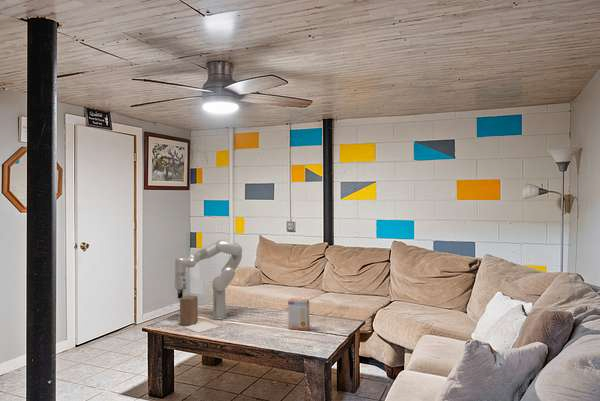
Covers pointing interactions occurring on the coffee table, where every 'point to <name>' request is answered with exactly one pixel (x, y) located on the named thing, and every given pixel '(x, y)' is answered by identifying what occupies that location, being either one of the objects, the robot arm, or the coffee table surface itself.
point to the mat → (202, 327)
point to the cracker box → (298, 314)
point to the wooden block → (188, 310)
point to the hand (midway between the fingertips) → (180, 298)
